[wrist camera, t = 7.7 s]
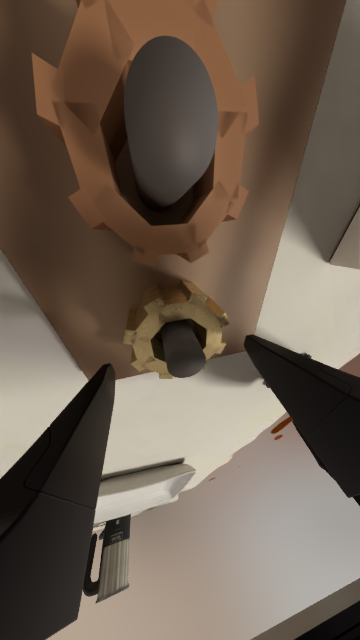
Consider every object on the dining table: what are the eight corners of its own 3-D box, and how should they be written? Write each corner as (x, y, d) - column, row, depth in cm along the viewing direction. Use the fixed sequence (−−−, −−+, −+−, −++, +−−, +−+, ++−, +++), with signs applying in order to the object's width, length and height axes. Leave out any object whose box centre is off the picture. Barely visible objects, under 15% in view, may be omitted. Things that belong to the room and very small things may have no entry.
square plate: (85, 508, 42) (80, 531, 39) (77, 477, 30) (69, 507, 26) (171, 485, 51) (173, 502, 47) (194, 453, 38) (199, 473, 35)
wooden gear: (214, 274, 11) (234, 286, 9) (209, 344, 15) (223, 366, 13) (117, 287, 10) (108, 305, 8) (139, 359, 14) (138, 386, 12)
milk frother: (127, 508, 53) (122, 592, 40) (139, 512, 61) (138, 582, 49) (88, 523, 51) (70, 615, 39) (106, 524, 60) (96, 600, 47)
